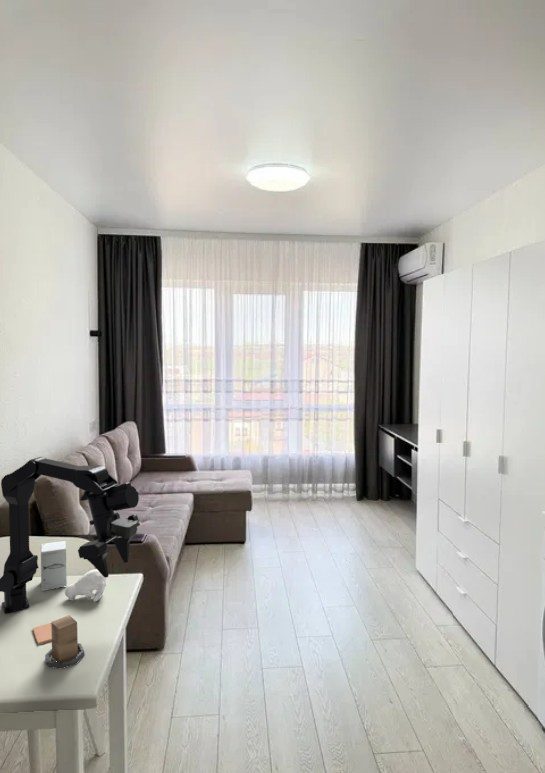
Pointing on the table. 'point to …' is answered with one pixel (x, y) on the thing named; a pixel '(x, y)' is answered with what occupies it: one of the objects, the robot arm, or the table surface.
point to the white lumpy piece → (87, 585)
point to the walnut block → (64, 639)
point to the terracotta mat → (43, 633)
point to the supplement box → (53, 565)
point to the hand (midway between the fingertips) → (116, 569)
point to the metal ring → (65, 663)
